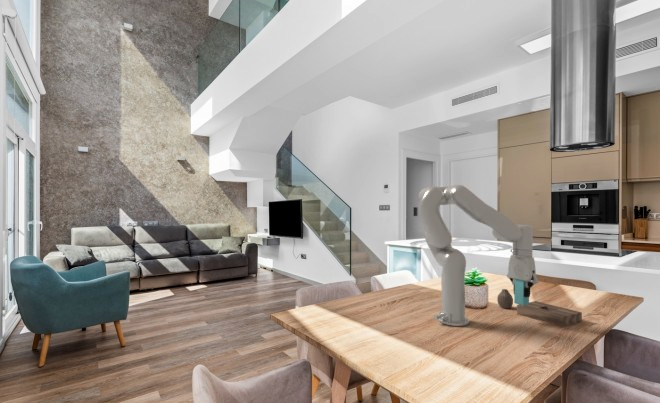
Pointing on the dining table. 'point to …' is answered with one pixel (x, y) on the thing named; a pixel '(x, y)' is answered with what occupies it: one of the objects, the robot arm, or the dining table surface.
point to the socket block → (550, 313)
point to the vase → (505, 299)
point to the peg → (520, 293)
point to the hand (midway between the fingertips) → (521, 294)
